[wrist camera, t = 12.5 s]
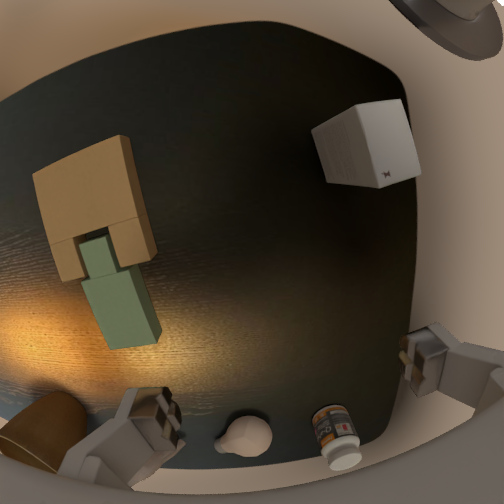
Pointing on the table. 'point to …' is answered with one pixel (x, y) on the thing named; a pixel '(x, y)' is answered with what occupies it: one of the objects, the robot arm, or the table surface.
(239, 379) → the table surface
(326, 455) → the pill bottle
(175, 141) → the table surface
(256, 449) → the light bulb
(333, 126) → the cosmetic box
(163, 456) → the bird
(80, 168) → the sand pad
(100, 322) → the sage pad
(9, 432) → the plant pot
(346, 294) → the table surface
